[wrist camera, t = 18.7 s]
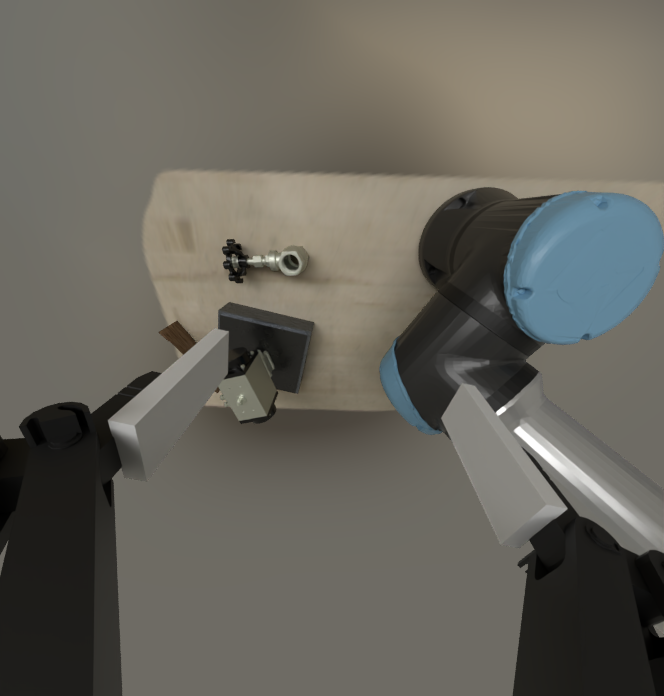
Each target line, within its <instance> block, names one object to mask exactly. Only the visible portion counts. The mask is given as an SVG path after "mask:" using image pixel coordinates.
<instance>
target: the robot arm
mask: <svg viewBox="0 0 664 696" xmlns="http://www.w3.org/2000/svg"><path fill="white" fill-rule="evenodd" d="M663 251H664V236H663V231H662V227H661V224H660V222H659V220H658V218H657V216H656V215H655V213H654V212H653V211H652V210H651V209H650V208H649V207H648V206H647V205H646V204H644V203H643V202H642V201H640V200H638V199H636V198H634V197H631V196H628V195H624V194H619V193H598V192H587V191H571V192H568V193H563V194H559V195H550V196H541V197H532V198H522V199H518V198H517V197H515V196H514V195H513V194H511V193H509V192H507V191H505V190H502V189H498V188H491V187H484V188H477V189H472V190H468V191H465V192H462V193H460V194H457V195H455V196H454V197H452V198H450V199H449V200H447V201H446V202H445V203H444V204H442V205H441V206H440V207H439V208H438V209H437V210H436V211H435V213H434V214H433V215H432V216H431V218H430V219H429V221H428V222H427V224H426V226H425V228H424V230H423V233H422V236H421V239H420V243H419V263H420V267H421V269H422V272H423V274H424V275H425V277H426V278H427V280H428V281H429V282H430V283H431V284H433V285H434V286H435V287H436V288H438V289H439V291H437V293H436V294H435V295H434V296H433V297H432V298H431V300H430V301H429V302H428V303H427V304H426V306H425V307H424V308H423V309H422V310H421V312H420V313H419V314H418V315H417V316H416V318H415V319H414V320H413V321H412V322H411V324H410V325H409V326H408V327H407V328H406V330H405V331H404V332H403V333H402V334H401V335H400V336H398V337H397V338H396V339H395V340H394V342H393V345H392V347H391V348H390V349H389V351H388V352H387V353H386V355H385V356H384V357H383V359H382V361H381V363H380V379H381V383H382V386H383V388H384V391H385V393H386V395H387V397H388V398H389V400H390V401H391V403H392V404H393V406H394V407H395V409H396V410H397V411H398V412H399V414H401V416H402V417H403V418H404V419H405V420H406V421H407V422H408V423H409V424H411V425H412V426H416V427H417V428H418V430H419V431H421V432H423V433H425V434H429V435H434V434H440V433H442V432H444V433H445V434H446V435H447V436H448V437H449V439H450V440H451V441H452V442H453V445H454V447H455V449H456V451H457V453H458V455H459V457H460V460H461V462H462V464H463V466H464V468H465V470H466V472H467V474H468V476H469V479H470V481H471V483H472V485H473V487H474V489H475V491H476V493H477V496H478V498H479V500H480V502H481V504H482V506H483V508H484V511H485V513H486V515H487V517H488V519H489V521H490V523H491V526H492V528H493V530H494V532H495V534H496V536H497V538H498V540H499V542H500V544H501V545H504V546H510V547H515V548H520V547H521V546H523V545H524V544H525V543H526V542H528V541H529V540H530V542H531V544H532V545H533V547H534V549H535V550H533V551H532V552H531V553H529V554H528V555H527V556H526V557H525V558H523V559H522V560H520V561H519V563H518V566H519V567H520V568H521V567H522V566H524V565H525V564H528V570H526V571H525V572H526V573H527V579H526V588H525V596H524V605H523V613H522V621H521V630H520V638H519V647H518V655H517V663H516V672H515V680H514V689H513V696H664V637H662V638H660V637H659V636H658V634H657V633H656V631H655V629H654V627H653V625H655V626H656V627H657V628H658V629H659V630H660V631H661V632H662V633H663V634H664V489H663V488H662V487H661V486H659V485H658V484H657V483H656V482H654V481H653V480H652V479H650V478H649V477H648V476H647V475H645V474H644V473H643V472H641V471H640V470H639V469H638V468H636V467H635V466H633V465H632V464H631V463H630V462H629V461H627V460H626V459H625V458H623V457H622V456H621V455H620V454H618V453H617V452H616V451H614V450H613V449H612V448H610V447H609V446H608V445H607V444H606V443H604V442H603V441H602V440H600V439H599V438H598V437H596V436H595V435H594V434H593V433H591V432H590V431H589V430H588V429H586V428H585V427H584V426H582V425H581V424H580V423H579V422H577V421H576V420H575V419H573V418H572V417H571V416H570V415H568V414H567V413H566V412H564V411H563V410H562V409H561V408H559V407H558V406H557V405H556V404H554V403H553V402H552V401H550V400H549V399H548V398H547V397H546V396H545V394H544V393H543V381H542V374H541V373H540V372H539V371H538V370H536V369H535V368H534V367H532V366H531V365H530V364H528V363H527V362H526V359H527V358H528V357H529V356H530V355H532V354H533V353H534V352H535V351H536V350H538V349H539V348H540V347H541V346H542V345H544V344H545V343H547V344H551V343H552V344H560V345H566V344H575V343H578V342H579V341H580V339H585V340H590V339H593V338H595V337H598V336H600V335H602V334H604V333H606V332H607V331H608V330H610V329H612V328H614V327H615V326H617V325H618V324H619V323H621V322H622V321H623V320H624V319H625V318H627V317H628V316H629V315H630V314H631V313H632V312H633V311H634V310H635V309H636V308H637V307H638V306H639V304H640V303H641V302H642V301H643V299H644V298H645V297H646V295H647V294H648V292H649V291H650V289H651V287H652V286H653V284H654V282H655V280H656V277H657V275H658V273H659V270H660V266H659V261H660V259H661V256H662V254H663ZM228 345H229V331H224V330H220V329H215V328H214V329H213V330H212V331H211V332H209V333H208V334H207V335H206V336H205V337H204V338H202V339H201V340H200V341H199V342H198V343H197V344H196V345H194V346H193V347H192V348H191V349H190V350H189V351H187V352H186V353H185V354H184V355H183V356H182V357H180V358H179V359H178V360H177V361H176V362H175V363H174V364H172V365H171V366H170V367H169V368H168V369H167V370H165V371H164V372H163V373H158V372H153V371H151V372H149V373H147V374H144V375H142V376H140V377H138V378H136V379H135V380H134V381H133V382H131V383H130V384H129V385H127V387H125V388H124V389H122V390H121V391H120V392H119V393H118V394H117V395H115V396H113V397H112V398H111V399H109V400H108V401H107V402H106V403H104V404H103V405H102V406H101V407H99V408H98V409H97V410H95V411H94V412H93V413H92V414H90V411H89V408H88V406H86V405H84V404H82V403H77V402H65V403H58V404H54V405H50V406H47V407H44V408H42V409H40V410H38V411H35V412H33V413H32V414H31V415H29V416H28V417H26V418H25V419H24V420H23V422H22V423H21V424H20V426H19V428H20V430H21V432H22V434H23V435H24V437H25V438H19V439H2V438H1V436H0V554H1V552H2V551H3V549H4V547H5V545H6V543H7V541H8V540H9V541H8V545H7V550H6V554H5V558H4V563H3V567H2V571H1V575H0V696H122V678H121V653H120V629H119V606H118V582H117V581H118V580H117V557H116V534H115V533H116V532H115V509H114V485H113V484H114V483H113V480H112V477H113V476H114V475H115V474H116V473H117V472H118V471H119V469H120V468H122V471H123V475H124V478H129V479H135V480H140V481H146V482H147V481H148V480H149V479H150V477H151V476H152V475H153V473H154V472H155V471H156V469H157V468H158V467H159V465H160V464H161V462H162V461H163V460H164V458H165V457H166V456H167V454H168V453H169V452H170V450H171V449H172V448H173V446H174V445H175V443H176V442H177V441H178V440H179V438H180V437H181V436H182V434H183V433H184V432H185V430H186V429H187V428H188V426H189V425H190V423H191V422H192V421H193V419H194V418H195V417H196V415H197V414H198V413H199V411H200V410H201V409H202V407H203V406H204V405H205V403H206V402H207V401H208V399H209V398H210V397H211V395H212V394H213V393H214V391H215V390H216V389H217V387H218V386H219V385H220V383H221V382H222V380H223V379H224V378H225V376H226V375H227V374H228Z"/></svg>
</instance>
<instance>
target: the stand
mask: <svg viewBox="0 0 664 696" xmlns="http://www.w3.org/2000/svg"><path fill="white" fill-rule="evenodd" d="M313 325H314V322H311V321H307V320H302V319H298V318H294V317H290V316H286V315H281V314H277V313H273V312H269V311H264V310H260V309H256V308H252V307H248V306H243V305H239V304H235V303H231V302H229V303H227V304H226V305H225V306H224V307H222V308H221V309H220V310H219V312H218V329H220V330H224V331H229V345H228V351H230V350H232V349H235V348H239V347H245V348H246V349H247V351H248V352H249V351H253V350H260V351H261V352H262V353H263V352H264V351H267V352H268V353H269V355H270V357H271V359H272V361H273V363H274V366H275V367H274V368H275V369H274V370H272V372H271V373H272V377H271V379H272V381H273V383H274V386H275V388H276V389H278V390H283V391H287V392H292V393H297V394H298V391H299V388H300V384H301V380H302V375H303V371H304V366H305V362H306V357H307V352H308V348H309V343H310V339H311V334H312V330H313Z"/></svg>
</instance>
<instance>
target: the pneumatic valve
mask: <svg viewBox="0 0 664 696" xmlns="http://www.w3.org/2000/svg"><path fill="white" fill-rule="evenodd" d="M274 367H275V366H274V363H273V361H272V359H271V357H270V355H269V353H268V352H267V351H264V352H263V353H262V352H261V351H260V350H253V351H249V352H248V351H247V349H246V348H245V347H239V348H235V349H232V350H230V351H228V374H227V375H226V376H225V378H224V379H223V380H222V382H221V383H220V385H219V386H218V387H219V389H220V391H221V392H222V394H223V395H221V396H220V399H221V400H225V399H226V400H227V402H225V403H224V405H225V407H228V406H230V407H231V408H232V410H233V412H234V413H235V415H236V416H237V418H238V420H239V421H240V423H241V424H242V423H248V422H253V423H263V422H265V421H267V420H269V419H270V418H271V417H272V416H273V415H274V414H275V412H276V406H275V404H274V403H275V400H276V397H277V395H278V392H277V390H276V388H275V386H274V383H273V381H272V379H271V377H272V373H271V372H272V370H274V369H275V368H274Z"/></svg>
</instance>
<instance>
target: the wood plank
mask: <svg viewBox="0 0 664 696" xmlns="http://www.w3.org/2000/svg"><path fill="white" fill-rule="evenodd" d="M159 333H160V334H161V335H162V336H163V337H164V338H165V339H166V340H168V341H170V342H171V343H172V344H173V345H174V346H175V347H176V348H177V349H178V350H179V351H180V352H181V353H182V354H183V355H184V354H185V353H186V352H187V351H189V350H190V349H191V348H192V347H193V346H194V345H196V344H197V343H196V342H195V341H194V340H193V338H192V337H191V336H190V335H189V334H188V333H187V331H186V330H185V329H184V328H183V327H182V326H181V325H180V324H179V323H178V321H176V322H174V323H172V324H171V325H169V326H168V327H166V328H165V329H163V330H161V331H160V332H159ZM219 391H220V389H219V387H217V389H216V390H215V392H217V393H218V392H219Z"/></svg>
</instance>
